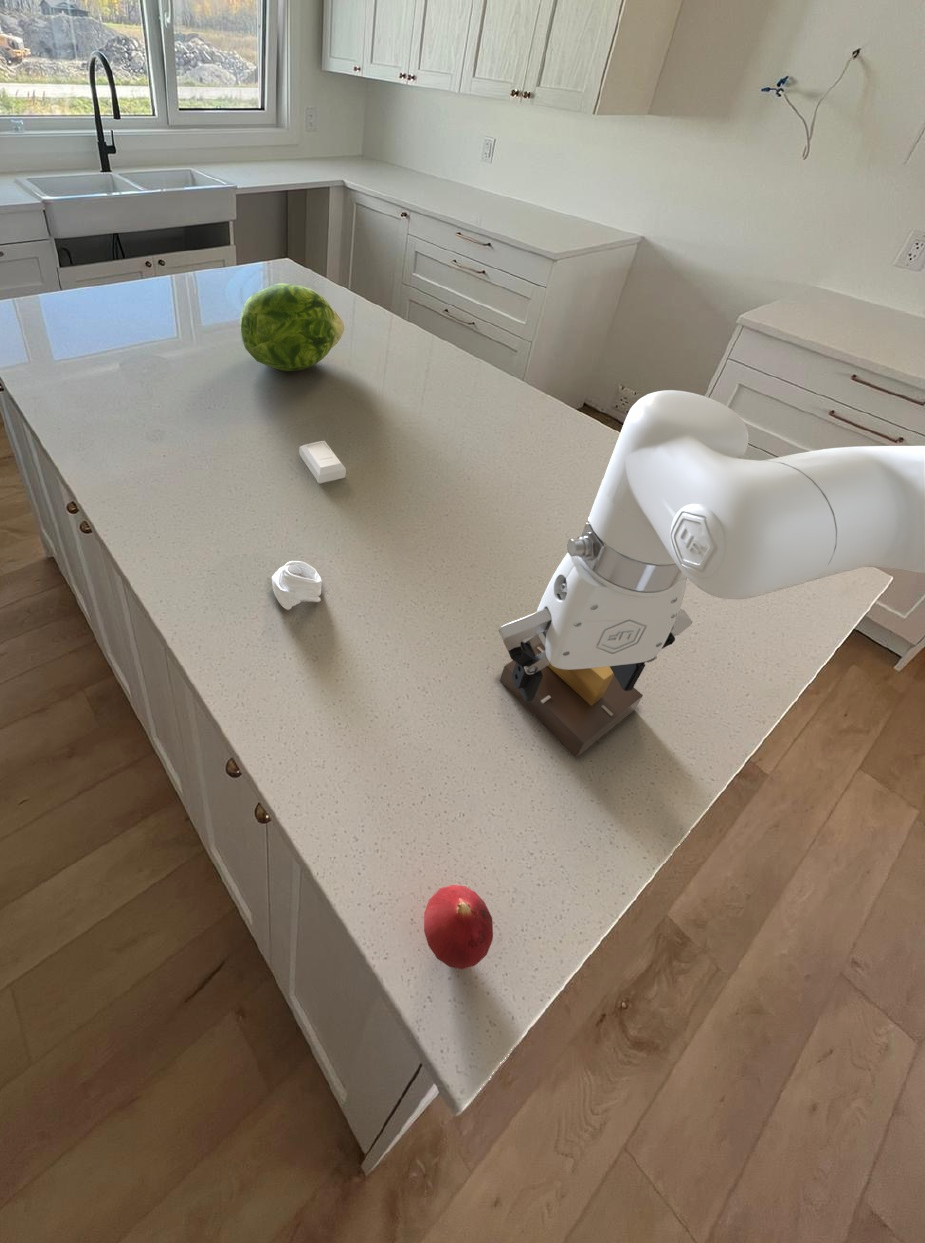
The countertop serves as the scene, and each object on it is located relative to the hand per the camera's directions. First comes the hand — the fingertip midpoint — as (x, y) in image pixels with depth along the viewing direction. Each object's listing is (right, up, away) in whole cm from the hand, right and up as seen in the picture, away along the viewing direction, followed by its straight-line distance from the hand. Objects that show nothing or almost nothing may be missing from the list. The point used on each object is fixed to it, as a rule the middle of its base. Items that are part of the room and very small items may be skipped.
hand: (571, 682), depth 59 cm
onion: (-12, -22, -3) cm, 25 cm away
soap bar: (-26, +22, +53) cm, 63 cm away
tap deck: (+6, -7, +18) cm, 21 cm away
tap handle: (+6, -5, +17) cm, 18 cm away
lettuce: (-34, +46, +84) cm, 102 cm away
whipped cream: (-28, +4, +29) cm, 41 cm away
